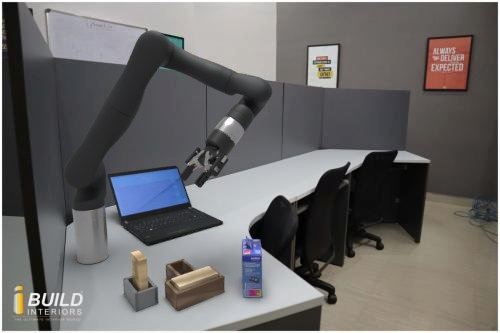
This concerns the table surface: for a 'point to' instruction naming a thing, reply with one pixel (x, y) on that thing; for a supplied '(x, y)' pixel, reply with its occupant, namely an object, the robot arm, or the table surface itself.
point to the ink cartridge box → (252, 268)
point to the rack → (194, 293)
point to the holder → (140, 294)
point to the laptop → (156, 204)
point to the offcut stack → (193, 278)
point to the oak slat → (139, 271)
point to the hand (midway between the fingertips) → (189, 182)
